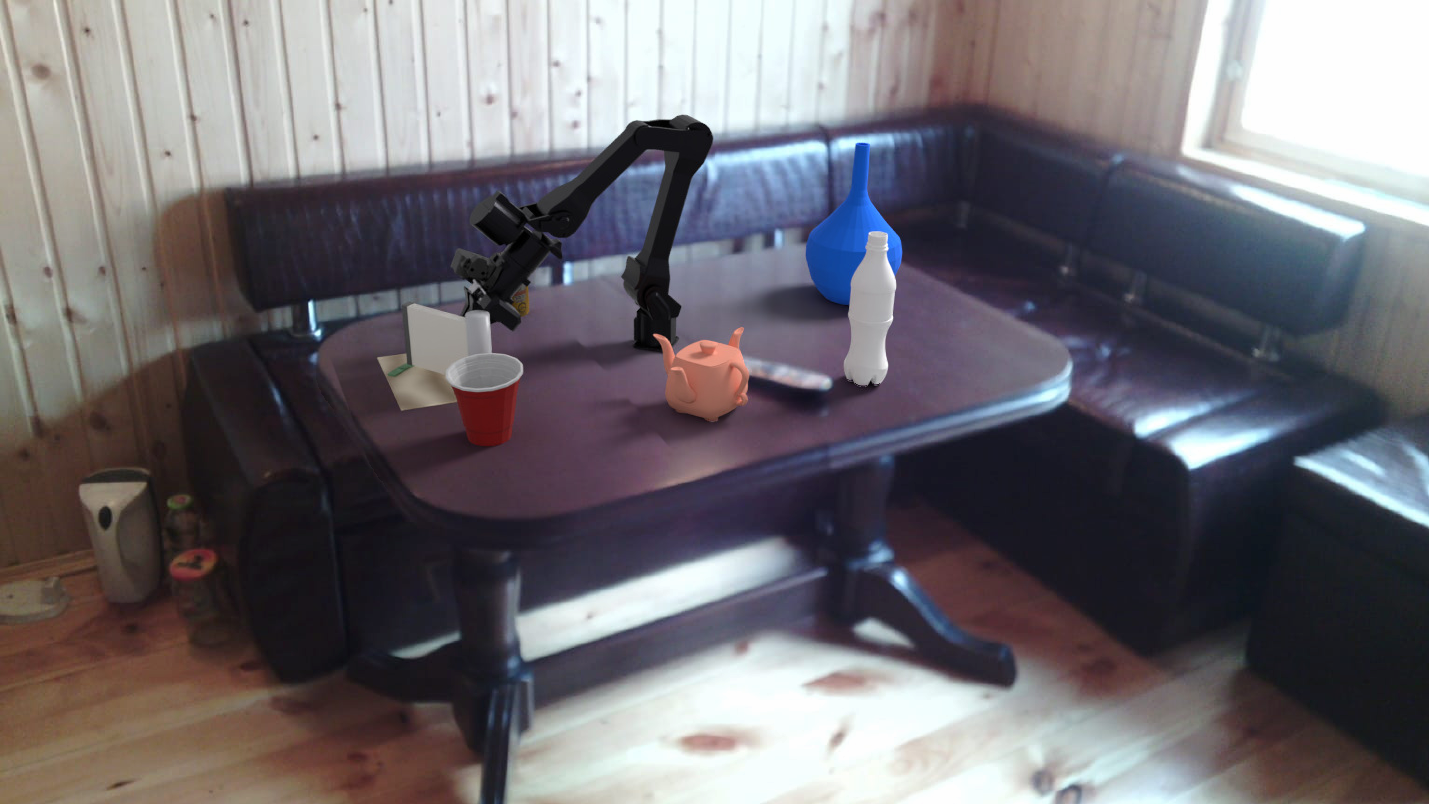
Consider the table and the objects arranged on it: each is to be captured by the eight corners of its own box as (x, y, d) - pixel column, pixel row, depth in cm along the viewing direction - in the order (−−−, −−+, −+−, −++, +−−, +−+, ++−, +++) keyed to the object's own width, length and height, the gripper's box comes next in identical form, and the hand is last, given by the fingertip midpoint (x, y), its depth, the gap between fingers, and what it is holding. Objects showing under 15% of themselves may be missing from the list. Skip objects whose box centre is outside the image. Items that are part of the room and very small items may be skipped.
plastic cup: (435, 452, 165) (428, 374, 159) (478, 421, 174) (473, 347, 168) (500, 468, 161) (495, 390, 156) (541, 436, 170) (538, 361, 165)
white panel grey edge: (498, 385, 181) (494, 313, 176) (483, 393, 178) (478, 320, 173) (419, 360, 189) (413, 291, 183) (403, 368, 186) (396, 297, 181)
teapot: (670, 433, 172) (671, 365, 167) (652, 392, 184) (652, 328, 180) (764, 425, 175) (768, 358, 170) (740, 385, 188) (743, 322, 183)
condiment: (527, 309, 215) (525, 247, 210) (537, 326, 208) (535, 262, 203) (488, 313, 213) (484, 251, 208) (497, 330, 206) (493, 266, 200)
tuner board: (474, 350, 197) (473, 342, 196) (506, 401, 180) (506, 392, 179) (377, 364, 191) (376, 355, 190) (401, 417, 174) (401, 408, 173)
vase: (806, 277, 235) (815, 130, 222) (897, 284, 233) (912, 136, 220) (799, 310, 219) (809, 152, 206) (897, 317, 217) (913, 159, 204)
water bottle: (890, 375, 193) (905, 230, 182) (881, 392, 187) (896, 243, 176) (848, 368, 195) (860, 224, 184) (837, 385, 189) (850, 237, 178)
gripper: (465, 215, 188) (404, 288, 189) (495, 249, 173) (427, 329, 174) (516, 255, 195) (456, 326, 195) (549, 292, 179) (483, 368, 180)
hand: (454, 336), depth 186 cm, fingers closed
